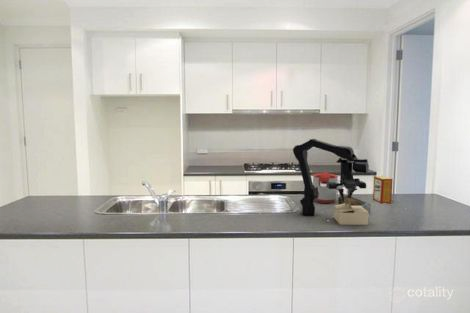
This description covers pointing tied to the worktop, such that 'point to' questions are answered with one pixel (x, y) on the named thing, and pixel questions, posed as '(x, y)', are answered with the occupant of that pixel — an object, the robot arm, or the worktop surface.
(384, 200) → the baking soda box
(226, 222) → the worktop surface
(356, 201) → the beverage carton
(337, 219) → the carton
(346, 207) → the cabinet door with handle
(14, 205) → the worktop surface
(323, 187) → the citrus juicer
